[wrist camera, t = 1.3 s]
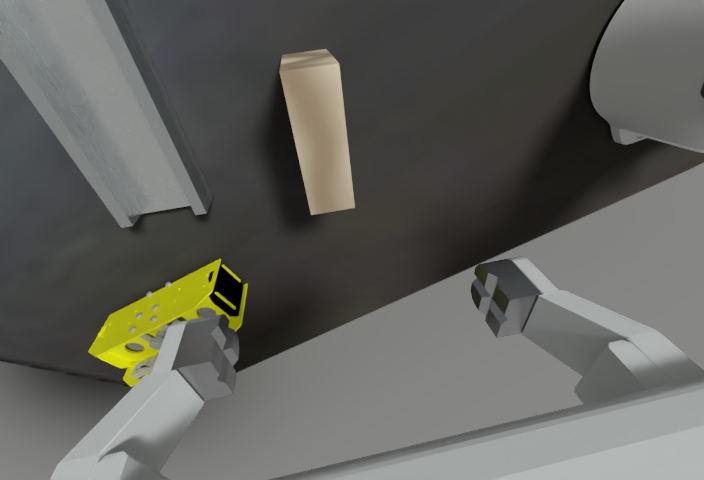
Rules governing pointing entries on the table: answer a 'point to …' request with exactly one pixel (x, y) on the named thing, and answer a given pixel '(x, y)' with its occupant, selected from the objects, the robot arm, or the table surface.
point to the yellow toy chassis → (167, 317)
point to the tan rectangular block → (319, 128)
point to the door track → (103, 102)
